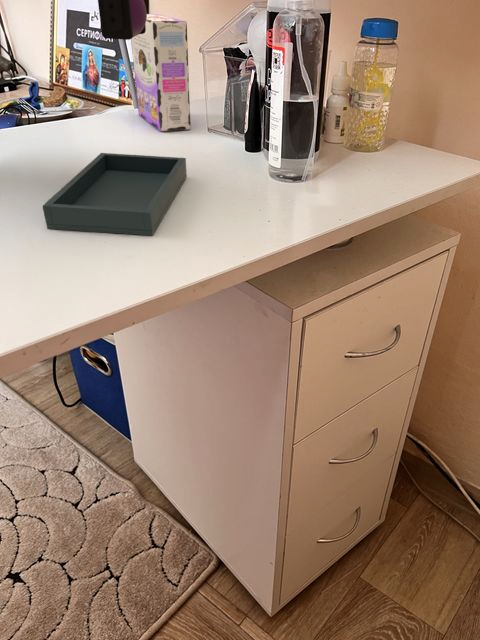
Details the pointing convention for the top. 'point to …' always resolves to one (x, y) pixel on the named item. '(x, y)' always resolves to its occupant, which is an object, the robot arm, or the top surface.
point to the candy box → (162, 73)
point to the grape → (138, 16)
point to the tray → (117, 195)
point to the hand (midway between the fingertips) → (124, 33)
